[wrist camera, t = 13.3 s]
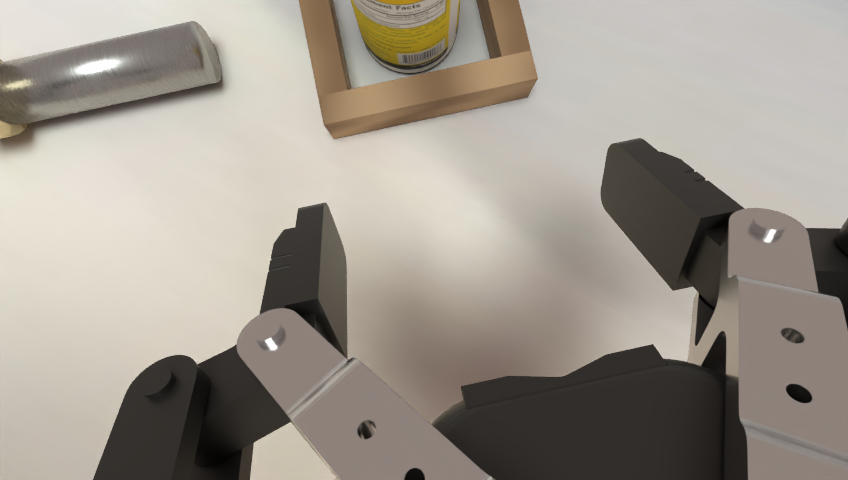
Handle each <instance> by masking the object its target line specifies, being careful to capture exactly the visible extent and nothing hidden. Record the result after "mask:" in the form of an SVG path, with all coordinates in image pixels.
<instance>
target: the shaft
mask: <svg viewBox="0 0 848 480" xmlns="http://www.w3.org/2000/svg"><path fill="white" fill-rule="evenodd" d="M220 80H221V67H220V62H219V59H218V55H217V53H216V50H215V48H214V46H213V43H212V41H211V40H210V38H209V36H208V34H207V33H206V31H205V30H204V29H203V28H202V27H201V25H199V24H198V23H197V22H195V21H191V22H186V23H182V24H177V25H173V26H168V27H163V28H159V29H154V30H149V31H145V32H140V33H136V34H131V35H126V36H122V37H117V38H112V39H108V40H103V41H99V42H94V43H89V44H85V45H80V46H75V47H71V48H66V49H61V50H57V51H52V52H48V53H43V54H38V55H34V56H29V57H24V58H20V59H15V60H11V61H6V62H3V61H2V60H0V139H2V138H6V137H11V136H15V135H18V134H20V133H22V132H23V131H24V130H25V129H26V128H27V127H28V125H29V123H32V122H36V121H41V120H46V119H50V118H55V117H60V116H64V115H69V114H73V113H78V112H83V111H87V110H92V109H97V108H101V107H106V106H110V105H115V104H120V103H124V102H129V101H134V100H138V99H143V98H147V97H152V96H157V95H161V94H166V93H171V92H175V91H180V90H184V89H189V88H194V87H198V86H203V85H208V84H212V83H217V82H219V81H220Z"/></svg>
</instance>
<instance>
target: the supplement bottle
mask: <svg viewBox="0 0 848 480" xmlns="http://www.w3.org/2000/svg"><path fill="white" fill-rule="evenodd" d="M351 3H352V6H353V9H354V12H355V15H356V19H357V22H358V25H359V29H360V32H361V35H362V38H363V41H364V43H365V45H366V47H367V49H368V51H369V52H370V54H371V55H372V56H373V57H374V58H375V59H376V60H377V61H378V62H379V63H380V64H382V65H383V66H385V67H387V68H389V69H391V70H394V71H397V72H403V73H415V72H421V71H424V70H427V69H429V68H431V67H433V66H435V65H436V64H438V63H439V62H440V61H441V60H442V59H443V58H444V57H445V56H446V55H447V54H448V53H449V51H450V49H451V48H452V46H453V44H454V41H455V38H456V34H457V28H458V20H459V9H460V0H351Z"/></svg>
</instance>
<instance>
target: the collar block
mask: <svg viewBox="0 0 848 480" xmlns="http://www.w3.org/2000/svg"><path fill="white" fill-rule="evenodd" d="M299 4H300V8H301V13H302V18H303V23H304V28H305V33H306V38H307V43H308V48H309V53H310V58H311V63H312V68H313V73H314V78H315V83H316V88H317V93H318V98H319V103H320V108H321V113H322V118H323V123H324V126H325V127H326V128H327V130H328V131H329V132H330V134H331V135H332V137H333V138H334V139H336V138H341V137H345V136H350V135H355V134H359V133H364V132H368V131H373V130H378V129H382V128H387V127H392V126H396V125H401V124H405V123H410V122H415V121H419V120H424V119H428V118H433V117H438V116H442V115H447V114H452V113H456V112H461V111H465V110H470V109H475V108H479V107H484V106H489V105H493V104H498V103H502V102H507V101H512V100H516V99H521V98H526V97H528V95H529V93H530V92H531V90H532V88H533V86H534V84H535V82H536V81H537V79H538V77H537V73H536V69H535V65H534V61H533V57H532V53H531V49H530V45H529V41H528V37H527V33H526V29H525V25H524V21H523V17H522V13H521V9H520V5H519V1H518V0H477V4H478V8H479V13H480V17H481V21H482V25H483V29H484V33H485V38H486V42H487V46H488V50H489V54H490V59H489V60H484V61H479V62H475V63H470V64H466V65H461V66H456V67H452V68H447V69H443V70H438V71H433V72H429V73H424V74H419V75H415V76H410V77H406V78H401V79H396V80H392V81H387V82H382V83H378V84H373V85H369V86H364V87H359V88H355V89H351V85H350V80H349V75H348V71H347V66H346V61H345V56H344V51H343V47H342V42H341V37H340V32H339V27H338V23H337V18H336V13H335V8H334V3H333V0H299Z"/></svg>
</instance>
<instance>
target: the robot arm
mask: <svg viewBox="0 0 848 480" xmlns="http://www.w3.org/2000/svg"><path fill="white" fill-rule="evenodd" d="M601 200H602V204H603V207H604V209H605V210H606V212H607V213H608V214H609V215H610V216H611V218H612V219H613V220H614V221H615V222H616V224H617V225H618V226H619V227H620V228H621V230H622V231H623V232H624V233H625V234H626V235H627V237H628V238H629V239H630V240H631V241H632V243H633V244H634V245H635V246H636V247H637V249H638V250H639V251H640V252H641V253H642V254H643V256H644V257H645V258H646V259H647V260H648V262H649V263H650V264H651V265H652V266H653V268H654V269H655V270H656V271H657V272H658V273H659V275H660V276H661V277H662V278H663V279H664V281H665V282H666V283H667V284H668V285H669V287H670V288H671V289H672V290H673V291H674V290H678V289H683V288H688V287H692V286H693V287H694V288H695V289H696V290H697V293H696V295H695V297H694V301H693V311H692V322H691V333H690V344H689V355H688V360H687V362H684V361H679V360H671V359H663V358H662V357H661V355H660V354H659V352H658V351H657V349H656V348H655V346H654V345H653V344H652V345H648V346H643V347H639V348H634V349H630V350H625V351H620V352H616V353H611V354H607V355H605V356H603V357H601V358H599V359H597V360H595V361H593V362H591V363H589V364H587V365H585V366H584V367H582V368H580V369H578V370H576V371H574V372H572V373H570V374H568V375H566V376H563V377H529V376H506V377H502V378H497V379H493V380H488V381H484V382H479V383H474V384H470V385H465V386H461V390H462V396H463V401H462V402H460V403H458V404H456V405H454V406H453V407H451V408H450V409H448V410H447V411H446V412H444V413H443V414H442V415H441V416H440V417H439V418H438V419H436V420H435V421H434V423H433V424H432V425H431V424H430V423H429V422H428V421H427V420H426V419H424V418H423V417H422V416H421V415H420V414H419V413H418V412H417V411H415V410H414V409H413V408H412V407H411V406H410V405H409V404H408V403H407V402H405V401H404V400H403V399H402V398H401V397H400V396H399V395H398V394H397V393H395V392H394V391H393V390H392V389H391V388H390V387H389V386H388V385H386V384H385V383H384V382H383V381H382V380H381V379H380V378H379V377H378V376H376V375H375V374H374V373H373V372H372V371H371V370H370V369H369V368H367V367H366V366H365V365H364V364H363V363H362V362H360V361H359V360H358V359H356V358H351V359H350V360H348V359H347V268H346V257H345V252H344V248H343V245H342V242H341V239H340V236H339V234H338V231H337V228H336V226H335V223H334V220H333V217H332V215H331V212H330V209H329V207H328V205H327V204H326V203H321V204H317V205H312V206H307V207H302V208H299V209H298V213H297V220H296V227H295V228H290V229H285V230H283V232H282V233H281V234H280V236H279V237H278V239H277V240H276V241H275V243H274V245H273V250H272V255H271V259H272V260H270V265H269V272H268V275H267V280H266V285H265V290H264V295H263V300H262V305H261V310H260V315H258V316H257V317H255V318H254V319H252V320H251V321H250V322H249V323H248V324H247V325H246V326H245V327H244V329H243V330H242V331H241V333H240V335H239V337H238V340H237V345H235V346H234V347H232V348H230V349H228V350H226V351H224V352H222V353H220V354H218V355H216V356H214V357H212V358H210V359H208V360H206V361H204V362H201V363H199V364H197V363H196V362H195V361H194V360H193V359H191V358H190V357H188V356H184V355H174V356H170V357H167V358H164V359H161V360H159V361H157V362H155V363H154V364H152V365H151V366H149V367H148V368H146V369H145V370H144V371H143V372H142V373H140V374H139V375H138V377H137V378H136V379H135V380H134V381H133V382H132V384H131V385H130V387H129V388H128V390H127V392H126V394H125V397H124V399H123V402H122V404H121V407H120V410H119V412H118V415H117V418H116V420H115V423H114V426H113V428H112V431H111V433H110V436H109V439H108V441H107V444H106V447H105V449H104V452H103V455H102V457H101V460H100V462H99V465H98V468H97V470H96V473H95V476H94V478H93V480H250V472H251V463H252V454H253V444H254V442H255V441H257V440H259V439H261V438H262V437H264V436H266V435H268V434H270V433H271V432H273V431H275V430H277V429H279V428H280V427H282V426H284V425H286V424H288V423H289V422H291V423H292V424H293V425H294V426H295V428H296V429H297V430H298V431H299V432H300V434H301V435H302V436H303V437H304V439H305V440H306V441H307V442H308V444H309V445H310V446H311V447H312V449H313V450H314V451H315V452H316V454H317V455H318V456H319V457H320V459H321V460H322V461H323V462H324V463H325V465H326V466H327V467H328V468H329V470H330V471H331V472H332V473H333V475H334V476H335V477H336V478H337V480H848V219H847V220H846V222H845V223H844V225H843V226H842V228H841V229H828V228H805V227H804V226H803V225H802V224H801V223H800V222H798V221H797V220H795V219H794V218H792V217H790V216H788V215H786V214H783V213H780V212H777V211H773V210H769V209H762V208H747V209H744V208H743V207H742V206H740V205H739V204H738V203H737V202H735V201H734V200H733V199H731V198H730V197H729V196H728V195H726V194H725V193H724V192H722V191H721V190H720V189H718V188H717V187H716V186H715V185H713V184H712V183H711V182H709V181H705V178H704V177H703V176H702V175H700V174H699V173H698V172H694V169H692V168H691V167H690V166H689V165H687V164H686V163H685V162H683V161H682V160H681V159H679V158H676V157H674V156H671V155H668V154H666V153H663V152H658V151H657V150H656V149H655V148H653V147H652V146H651V145H650V144H648V143H647V142H646V141H645V140H643V139H641V138H638V139H633V140H628V141H623V142H619V143H614V144H612V145H610V147H609V148H608V151H607V156H606V162H605V168H604V174H603V180H602V186H601Z"/></svg>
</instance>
